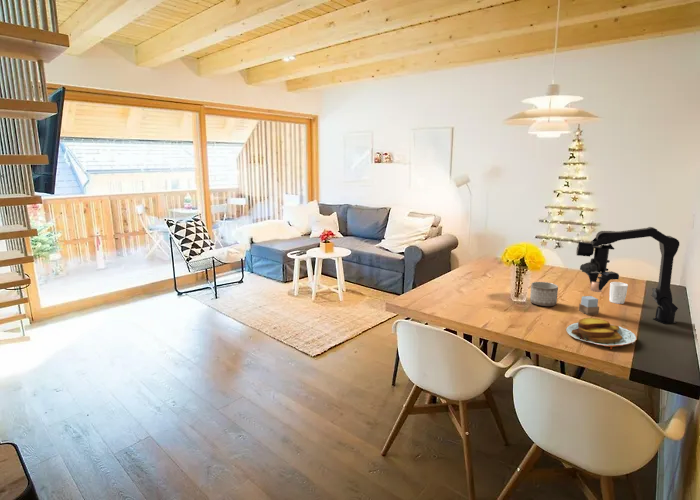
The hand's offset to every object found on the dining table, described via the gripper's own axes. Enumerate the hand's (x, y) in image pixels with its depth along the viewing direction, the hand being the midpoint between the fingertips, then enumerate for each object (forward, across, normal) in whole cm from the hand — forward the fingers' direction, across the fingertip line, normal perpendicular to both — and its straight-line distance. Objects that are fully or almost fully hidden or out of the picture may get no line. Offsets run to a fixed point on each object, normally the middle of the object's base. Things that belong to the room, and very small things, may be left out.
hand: (596, 288), depth 192 cm
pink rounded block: (+1, 0, 0) cm, 1 cm away
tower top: (+9, -1, -2) cm, 9 cm away
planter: (+14, -17, -16) cm, 27 cm away
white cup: (+13, -13, +24) cm, 30 cm away
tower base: (+13, -1, -2) cm, 13 cm away
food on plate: (+13, +26, -18) cm, 34 cm away
